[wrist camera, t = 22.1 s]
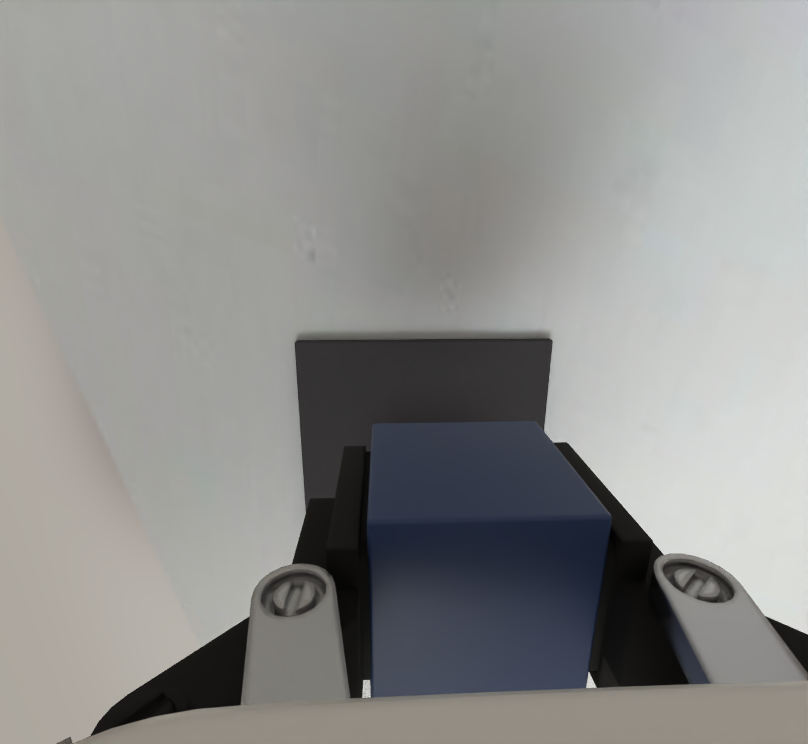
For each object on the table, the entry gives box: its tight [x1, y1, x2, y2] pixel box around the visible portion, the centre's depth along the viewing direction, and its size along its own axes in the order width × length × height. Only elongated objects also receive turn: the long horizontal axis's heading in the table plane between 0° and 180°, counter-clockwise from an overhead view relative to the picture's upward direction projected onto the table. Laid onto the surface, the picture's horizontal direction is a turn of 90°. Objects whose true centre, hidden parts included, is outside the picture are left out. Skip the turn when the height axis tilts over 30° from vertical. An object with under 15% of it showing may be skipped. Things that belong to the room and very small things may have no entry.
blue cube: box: [367, 421, 612, 697], centre depth 10 cm, size 4×4×4 cm
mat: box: [295, 339, 552, 512], centre depth 19 cm, size 10×10×1 cm
